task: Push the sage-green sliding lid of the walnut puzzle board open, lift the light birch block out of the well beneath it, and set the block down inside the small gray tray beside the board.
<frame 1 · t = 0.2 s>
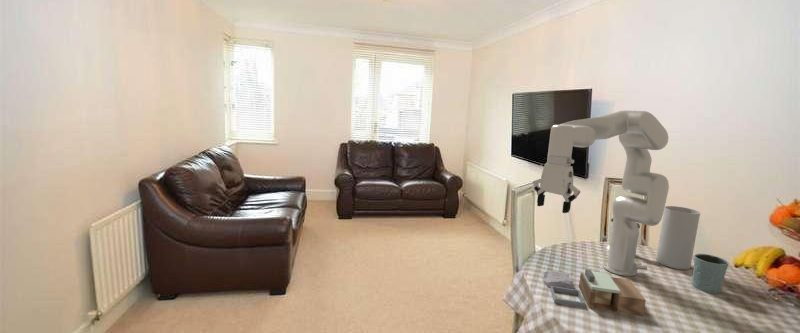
hand: (552, 209, 131), 30 cm above the table, tool pointing down, fingers open, 9 cm apart
cylinder vase: (672, 264, 166), on the table
gray tray: (566, 301, 128), on the table
stone block: (556, 285, 141), on the table
teal plant pot: (705, 288, 144), on the table
panda figurine: (620, 251, 180), on the table
birch block: (599, 300, 128), point 1 cm above the table, touching puzzle board
puzzle board: (608, 303, 128), on the table
sliding lid: (600, 278, 129), point 8 cm above the table, slide at 0.0 cm
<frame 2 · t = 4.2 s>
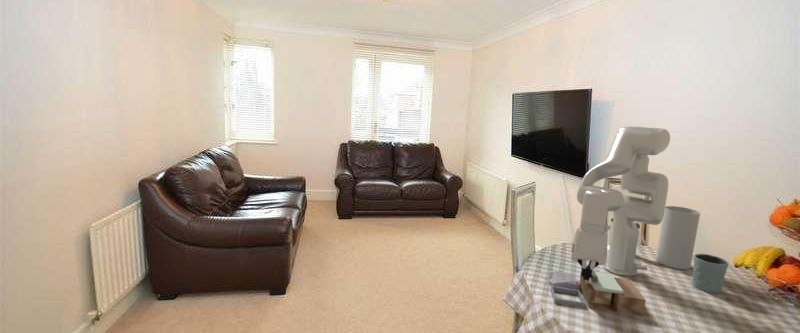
hand: (585, 278, 128), 8 cm above the table, tool pointing down, fingers closed
stone block: (561, 286, 140), on the table
sliding lid: (603, 278, 128), point 8 cm above the table, slide at 1.0 cm, touching gripper
everything else where it was.
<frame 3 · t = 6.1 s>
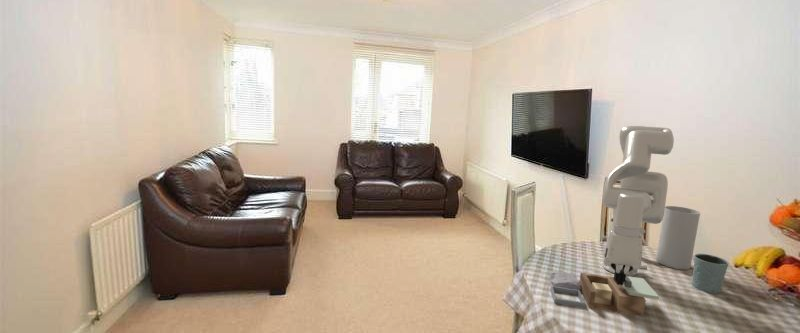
hand: (618, 283, 126), 8 cm above the table, tool pointing down, fingers closed
sliding lid: (636, 283, 126), point 8 cm above the table, slide at 11.2 cm, touching gripper
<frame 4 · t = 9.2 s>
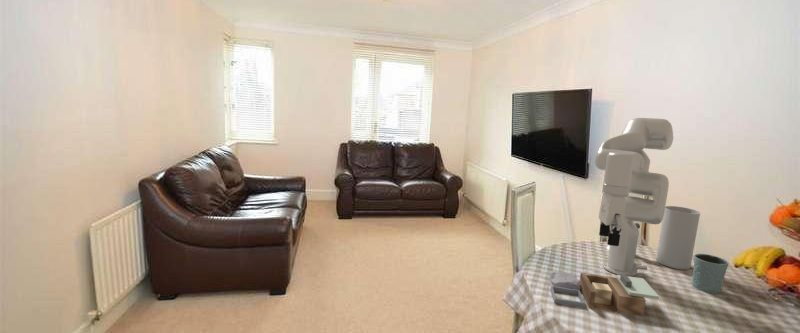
hand: (608, 240, 125), 22 cm above the table, tool pointing down, fingers open, 9 cm apart
stone block: (563, 286, 140), on the table, touching puzzle board
sliding lid: (637, 283, 126), point 8 cm above the table, slide at 11.2 cm
everything else where it was.
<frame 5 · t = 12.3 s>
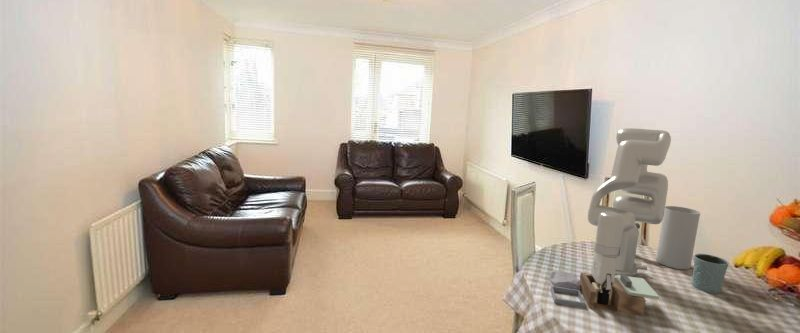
hand: (600, 299, 128), 1 cm above the table, tool pointing down, fingers closed on birch block, 4 cm apart
stone block: (563, 286, 141), on the table
birch block: (599, 300, 128), point 1 cm above the table, touching gripper, puzzle board
everything else where it was.
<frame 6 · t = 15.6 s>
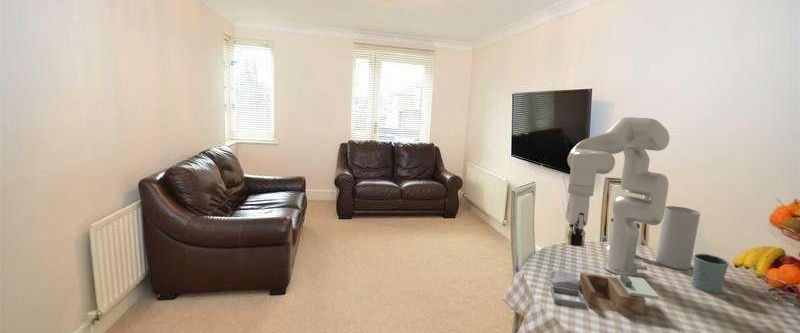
hand: (574, 242, 125), 21 cm above the table, tool pointing down, fingers closed on birch block, 4 cm apart
birch block: (573, 243, 125), point 21 cm above the table, touching gripper
everything else where it was.
when the fingers open (3 cm above the table, at t = 19.3 s): birch block drops 2 cm, resting on gray tray.
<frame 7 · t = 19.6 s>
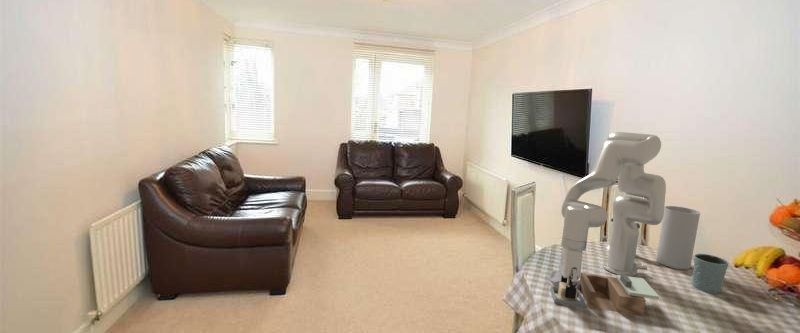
hand: (567, 291, 128), 3 cm above the table, tool pointing down, fingers open, 7 cm apart
birch block: (566, 299, 128), resting on gray tray
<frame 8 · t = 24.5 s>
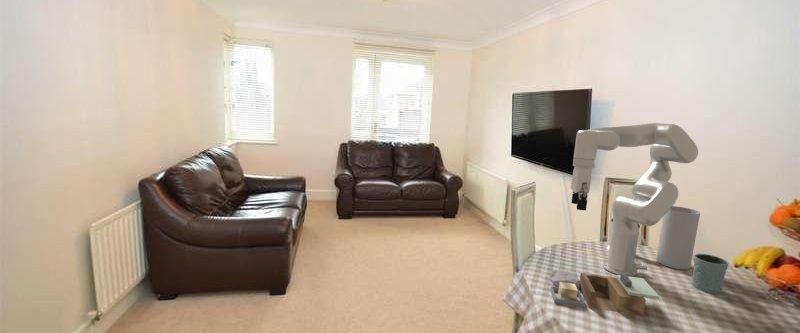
hand: (578, 206, 144), 28 cm above the table, tool pointing down, fingers open, 9 cm apart
at the end: sliding lid slide at 11.2 cm; birch block 0.0 cm off-centre on the gray tray, point 0.5 cm above the gray tray's base; birch block tilted 0° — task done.
